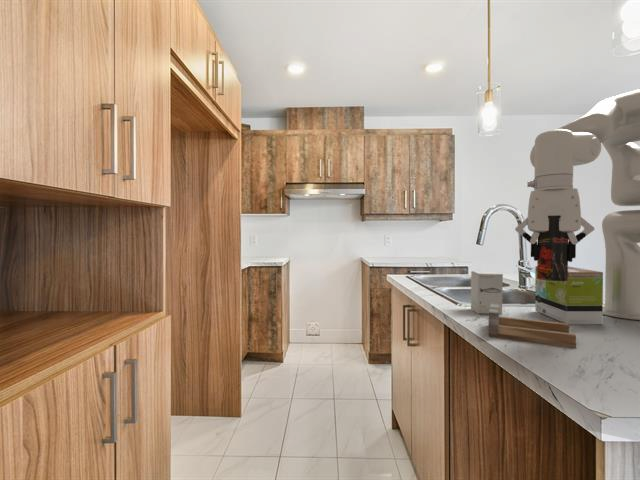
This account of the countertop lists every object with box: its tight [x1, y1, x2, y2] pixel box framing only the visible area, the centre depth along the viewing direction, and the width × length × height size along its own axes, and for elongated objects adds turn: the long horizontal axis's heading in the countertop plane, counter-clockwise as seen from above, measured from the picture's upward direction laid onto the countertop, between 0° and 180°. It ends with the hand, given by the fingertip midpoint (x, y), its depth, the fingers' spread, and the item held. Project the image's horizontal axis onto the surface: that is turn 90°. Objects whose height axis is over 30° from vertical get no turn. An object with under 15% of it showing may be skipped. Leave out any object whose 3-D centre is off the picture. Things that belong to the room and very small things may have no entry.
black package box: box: [536, 215, 569, 281], centre depth 79 cm, size 6×6×15 cm
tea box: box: [534, 265, 604, 325], centre depth 98 cm, size 15×10×15 cm, turn 177°
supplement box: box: [470, 270, 504, 316], centre depth 106 cm, size 7×7×13 cm
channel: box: [488, 303, 577, 349], centre depth 82 cm, size 12×17×6 cm
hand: (552, 260), depth 79 cm, fingers closed on black package box, 5 cm apart
